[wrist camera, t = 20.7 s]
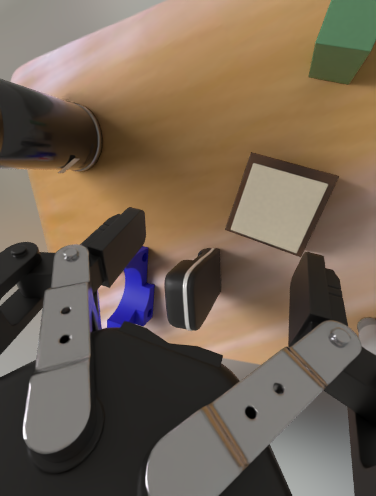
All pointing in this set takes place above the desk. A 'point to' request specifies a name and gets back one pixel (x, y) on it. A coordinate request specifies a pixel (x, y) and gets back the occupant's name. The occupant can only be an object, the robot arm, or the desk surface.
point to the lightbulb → (367, 334)
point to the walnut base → (292, 169)
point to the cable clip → (135, 294)
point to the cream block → (277, 207)
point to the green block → (344, 40)
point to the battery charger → (193, 289)
